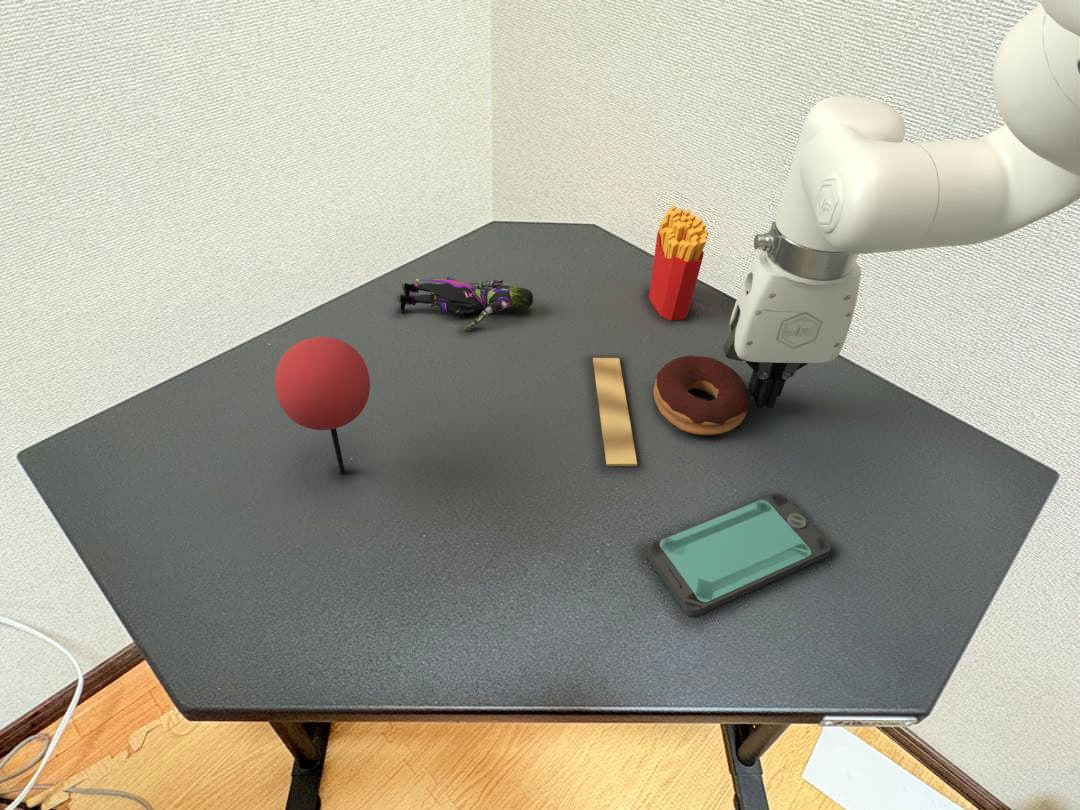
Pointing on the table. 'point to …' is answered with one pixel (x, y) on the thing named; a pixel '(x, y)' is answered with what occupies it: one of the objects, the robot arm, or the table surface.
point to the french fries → (677, 263)
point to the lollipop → (323, 385)
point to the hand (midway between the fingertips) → (761, 398)
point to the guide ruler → (614, 413)
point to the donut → (698, 412)
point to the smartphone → (736, 553)
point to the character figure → (466, 297)
